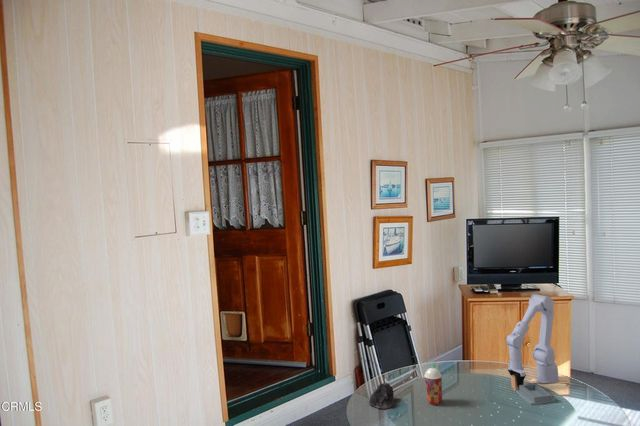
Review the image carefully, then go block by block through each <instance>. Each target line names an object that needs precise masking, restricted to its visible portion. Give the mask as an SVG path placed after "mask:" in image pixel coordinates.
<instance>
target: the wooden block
mask: <svg viewBox="0 0 640 426" xmlns="http://www.w3.org/2000/svg"><path fill="white" fill-rule="evenodd" d="M510 384H511V385H510V386H511V388H512V389H514V390H515V391H517V390H519V388H518V386H517V382H516V378H515V376H514V375H510ZM523 385H525V380H524V381H523Z"/></svg>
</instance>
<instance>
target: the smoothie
mask: <svg viewBox="0 0 640 426" xmlns="http://www.w3.org/2000/svg"><path fill="white" fill-rule="evenodd" d="M430 364H431V365H430V366H431V367H430V368H427V370H426V371H425V373H424V375H423V377H424V382H425V389H426V396H427V401H428V403H429V404H430V405H432V406H438V405H441V404H442V401H443V377H442V376H443V374H442V373H441V372H440V370H439V369H438V368H436V367H434V364H433V362H431V363H430Z"/></svg>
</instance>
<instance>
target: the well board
mask: <svg viewBox="0 0 640 426" xmlns="http://www.w3.org/2000/svg"><path fill="white" fill-rule="evenodd" d="M515 392H516V393H517V394H518V396H520V397H521V398H522V399H523V400H524V401H526V402H527V403H528V404H529V405H531V406H534V405H541V404H548V403H556V402H557V401H556V399H555V398H553V395H552V394H551V393H550V392H548V391H547V390H545V389H544V388H543V387H542V386H540V385H539V384H538V383H536V382H534V383H528V384H527V383H526V384H525V383H524V385H519V390H515Z"/></svg>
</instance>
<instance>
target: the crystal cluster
mask: <svg viewBox="0 0 640 426" xmlns="http://www.w3.org/2000/svg"><path fill="white" fill-rule="evenodd" d="M394 394H395V393H394V388H393V386H391V385H390V383H387V382H386V383H380V384H379V385H378V386H377V388H376V390H375V391H373V393H371V396H370V398H369V401H368V404H369V405H370V406H372V407H375V408H376V409H384V410H385V409H386V410H387V409H390V408H391V407H392V406H394V405H395V397H394Z"/></svg>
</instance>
